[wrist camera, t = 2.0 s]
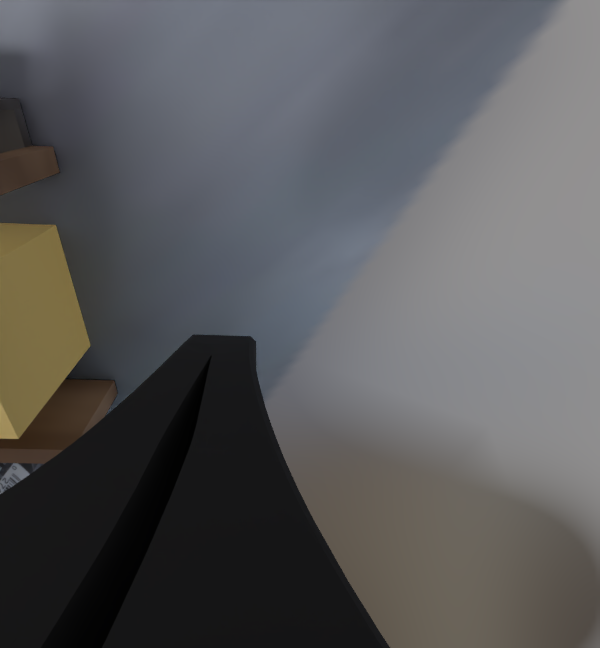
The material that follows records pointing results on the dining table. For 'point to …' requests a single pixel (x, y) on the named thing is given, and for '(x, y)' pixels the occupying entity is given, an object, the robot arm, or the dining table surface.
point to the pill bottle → (15, 473)
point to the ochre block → (35, 323)
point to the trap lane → (72, 395)
